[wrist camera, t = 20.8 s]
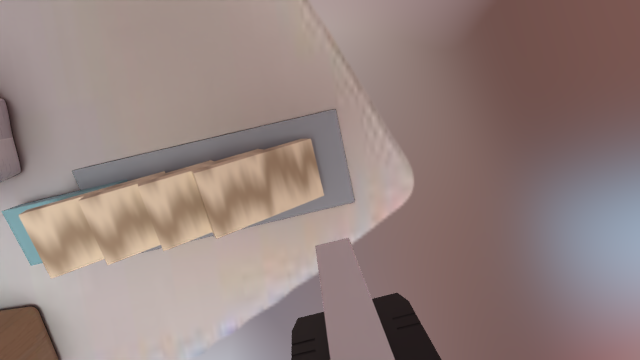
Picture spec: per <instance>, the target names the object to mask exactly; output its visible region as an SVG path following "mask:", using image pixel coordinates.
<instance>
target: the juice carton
mask: <svg viewBox="0 0 640 360" xmlns="http://www.w3.org/2000/svg"><path fill="white" fill-rule="evenodd" d="M20 172H21V168H20V163H19V158H18V155H17V151H16V148H15V144H14V140H13V136H12V131H11V125H10V119H9V114H8V110H7V106H6V103H5V100H3V99H1V98H0V182H2V181H4V180H6V179H9V178H11V177H13V176H15V175H17V174H19V173H20Z"/></svg>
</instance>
